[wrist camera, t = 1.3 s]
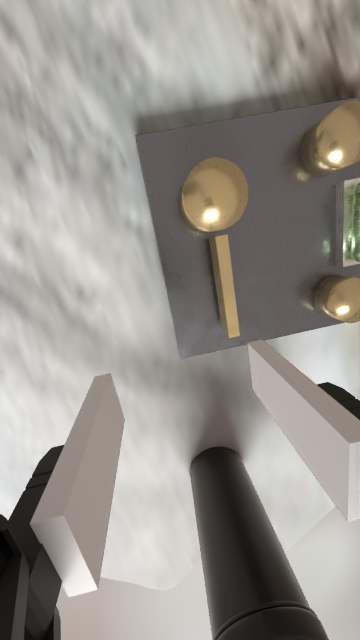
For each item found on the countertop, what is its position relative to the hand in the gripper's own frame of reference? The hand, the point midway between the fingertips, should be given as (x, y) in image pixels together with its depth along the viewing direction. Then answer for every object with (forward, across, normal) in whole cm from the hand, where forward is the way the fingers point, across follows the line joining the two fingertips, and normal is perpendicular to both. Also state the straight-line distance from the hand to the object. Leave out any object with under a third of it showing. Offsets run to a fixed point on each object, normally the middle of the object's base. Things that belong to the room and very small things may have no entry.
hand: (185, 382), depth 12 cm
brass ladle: (+17, +7, +4) cm, 19 cm away
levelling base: (+19, +12, +5) cm, 23 cm away
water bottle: (+19, +2, -28) cm, 34 cm away
